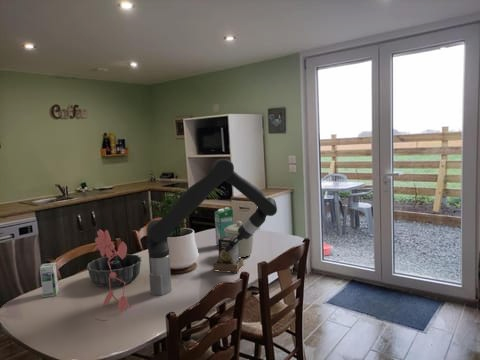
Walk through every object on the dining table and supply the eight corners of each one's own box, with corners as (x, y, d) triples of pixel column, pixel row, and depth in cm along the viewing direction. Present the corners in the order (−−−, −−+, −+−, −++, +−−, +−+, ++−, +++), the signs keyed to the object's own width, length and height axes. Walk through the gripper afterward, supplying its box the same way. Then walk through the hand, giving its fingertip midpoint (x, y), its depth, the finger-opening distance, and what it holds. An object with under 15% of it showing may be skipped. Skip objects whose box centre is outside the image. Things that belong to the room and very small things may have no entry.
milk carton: (216, 245, 237) (214, 208, 234) (228, 243, 241) (227, 206, 238) (221, 249, 229) (219, 210, 226) (234, 246, 233) (232, 208, 230)
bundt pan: (97, 272, 196) (96, 255, 195) (147, 269, 198) (145, 251, 197) (80, 293, 170) (78, 272, 169) (137, 289, 172) (135, 269, 171)
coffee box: (218, 268, 193) (217, 239, 191) (224, 264, 198) (223, 236, 196) (234, 270, 189) (232, 240, 187) (239, 266, 194) (238, 237, 192)
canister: (256, 260, 206) (254, 224, 203) (224, 261, 206) (222, 225, 204) (255, 250, 224) (254, 217, 221) (226, 251, 224) (224, 218, 222)
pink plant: (109, 296, 165) (101, 221, 160) (143, 312, 149) (135, 229, 144) (76, 310, 153) (66, 230, 148) (109, 329, 137) (100, 239, 132)
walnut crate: (237, 273, 187) (236, 265, 186) (214, 271, 191) (213, 263, 191) (243, 266, 197) (243, 258, 196) (221, 264, 201) (221, 256, 200)
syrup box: (42, 297, 167) (39, 267, 165) (45, 292, 172) (42, 263, 170) (56, 296, 168) (53, 265, 166) (58, 291, 174) (55, 261, 172)
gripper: (247, 219, 195) (228, 239, 200) (239, 226, 181) (219, 247, 186) (257, 229, 194) (238, 249, 199) (249, 237, 180) (229, 257, 185)
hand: (229, 248), depth 193 cm, fingers open, 8 cm apart
